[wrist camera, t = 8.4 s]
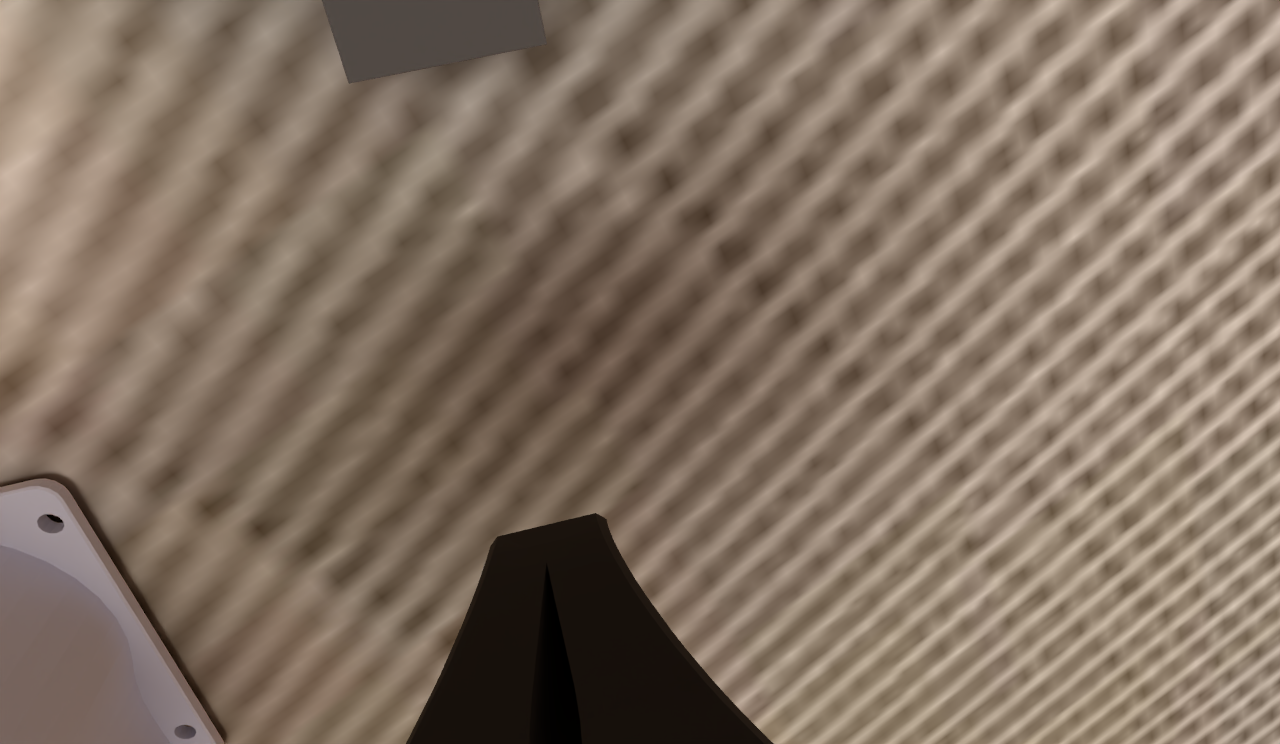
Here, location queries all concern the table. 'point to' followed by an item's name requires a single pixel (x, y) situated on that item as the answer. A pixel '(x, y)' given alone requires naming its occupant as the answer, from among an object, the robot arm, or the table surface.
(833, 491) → the table surface
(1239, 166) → the table surface
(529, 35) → the push rod
